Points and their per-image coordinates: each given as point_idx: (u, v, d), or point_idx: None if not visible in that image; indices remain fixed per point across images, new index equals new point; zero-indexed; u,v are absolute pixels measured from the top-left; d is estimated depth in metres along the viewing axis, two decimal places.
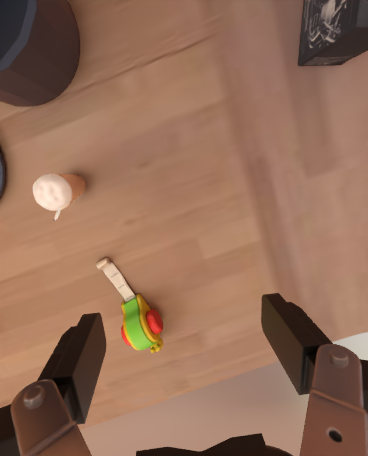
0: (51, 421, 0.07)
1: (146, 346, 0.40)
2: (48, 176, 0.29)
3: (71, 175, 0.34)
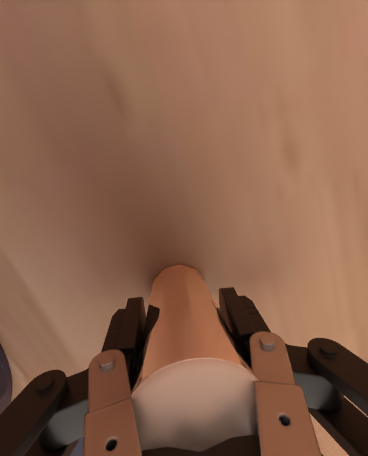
0: (115, 389, 0.07)
1: None
2: None
3: (148, 310, 0.12)
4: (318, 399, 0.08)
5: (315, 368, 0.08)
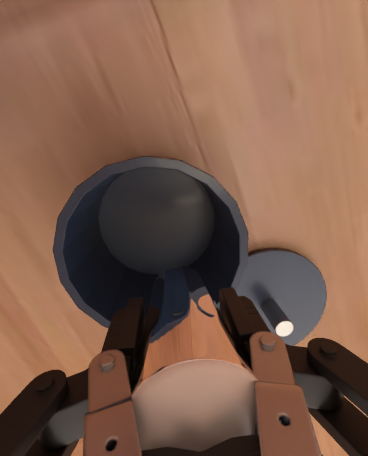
0: (115, 389, 0.07)
1: None
2: None
3: (148, 311, 0.12)
4: (318, 399, 0.08)
5: (315, 368, 0.08)
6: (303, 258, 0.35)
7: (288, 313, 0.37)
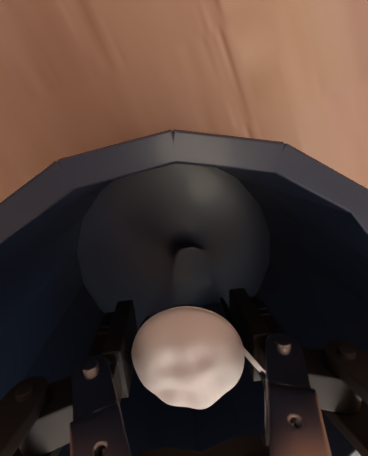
0: (101, 395, 0.07)
1: None
2: (136, 365, 0.10)
3: None
4: (336, 402, 0.08)
5: (333, 371, 0.08)
6: None
7: None
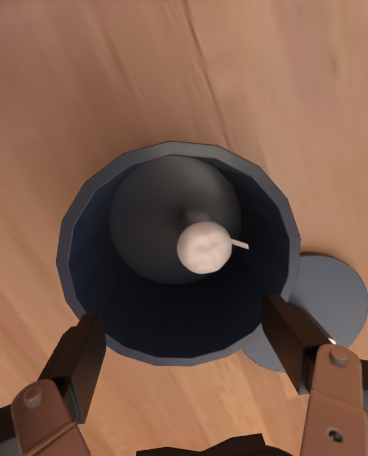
0: (51, 421, 0.07)
1: None
2: (181, 251, 0.20)
3: (179, 224, 0.24)
4: None
5: None
6: (343, 264, 0.30)
7: (324, 326, 0.32)
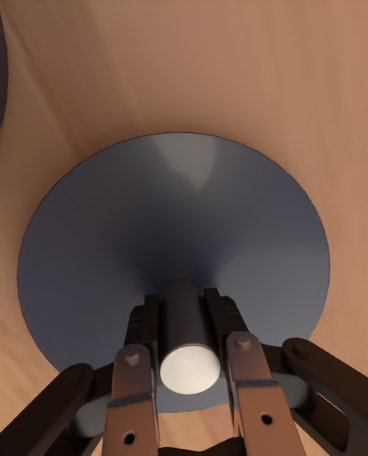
0: (138, 383, 0.08)
1: None
2: None
3: None
4: (291, 398, 0.08)
5: (288, 367, 0.08)
6: (265, 160, 0.12)
7: None
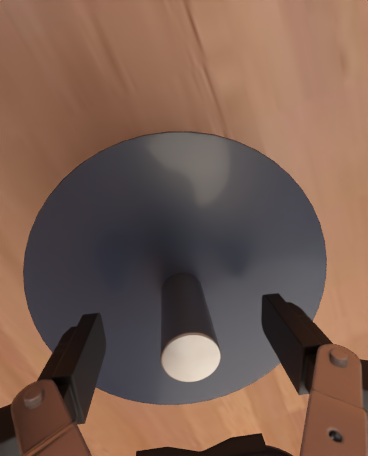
0: (51, 421, 0.07)
1: None
2: None
3: None
4: None
5: None
6: (263, 158, 0.13)
7: (233, 309, 0.15)
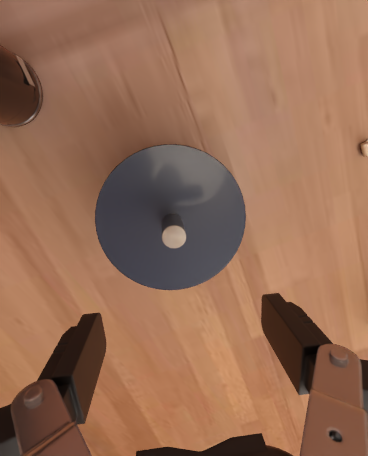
0: (51, 421, 0.07)
1: None
2: None
3: None
4: None
5: None
6: (209, 156, 0.27)
7: (198, 234, 0.30)
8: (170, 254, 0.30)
